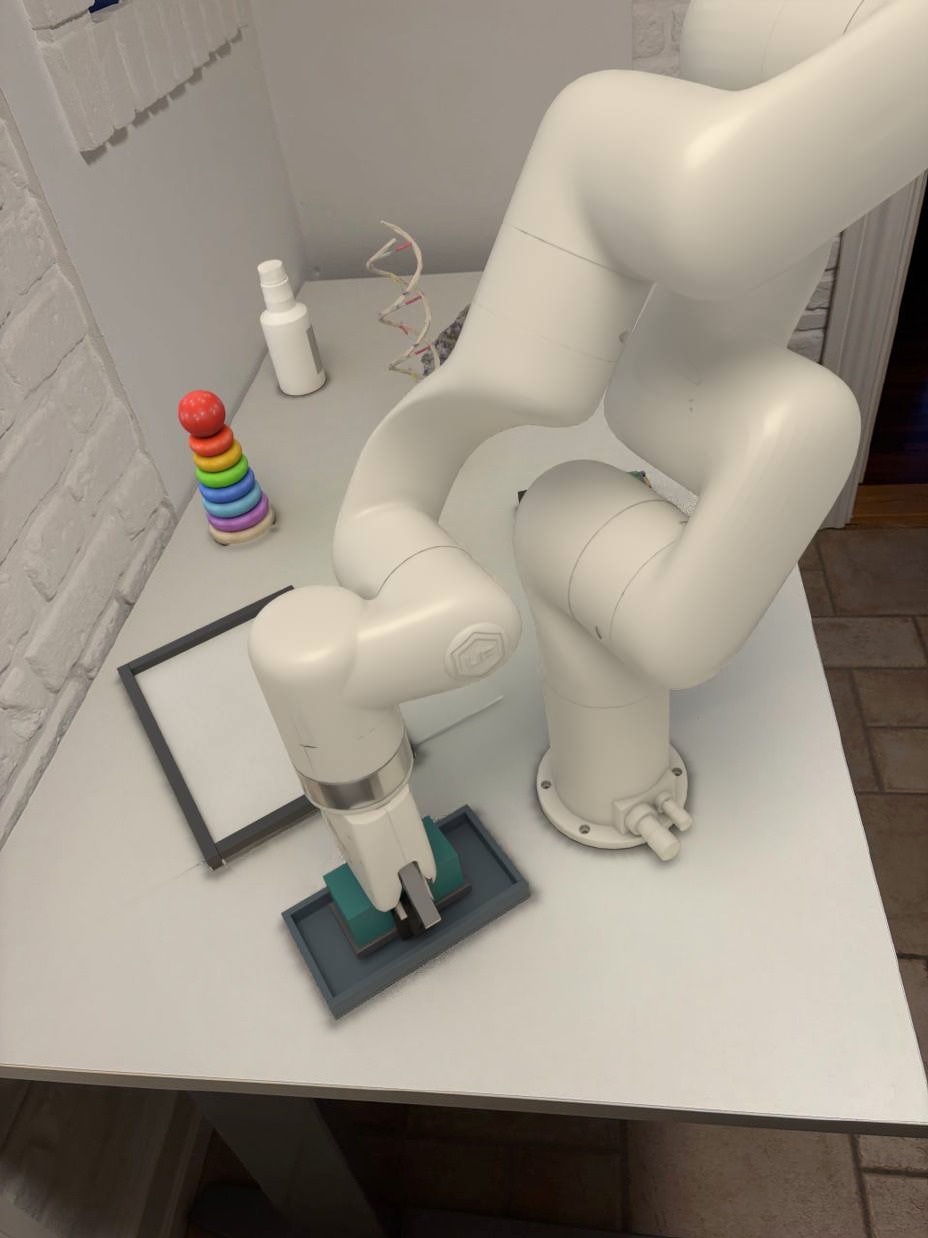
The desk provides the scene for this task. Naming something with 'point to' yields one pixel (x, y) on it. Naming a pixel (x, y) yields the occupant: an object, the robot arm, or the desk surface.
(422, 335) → the dna model
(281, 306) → the spray bottle
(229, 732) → the whiteboard
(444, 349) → the mineral rock
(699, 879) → the desk surface
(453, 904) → the tray
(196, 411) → the stacking toy
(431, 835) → the eraser
